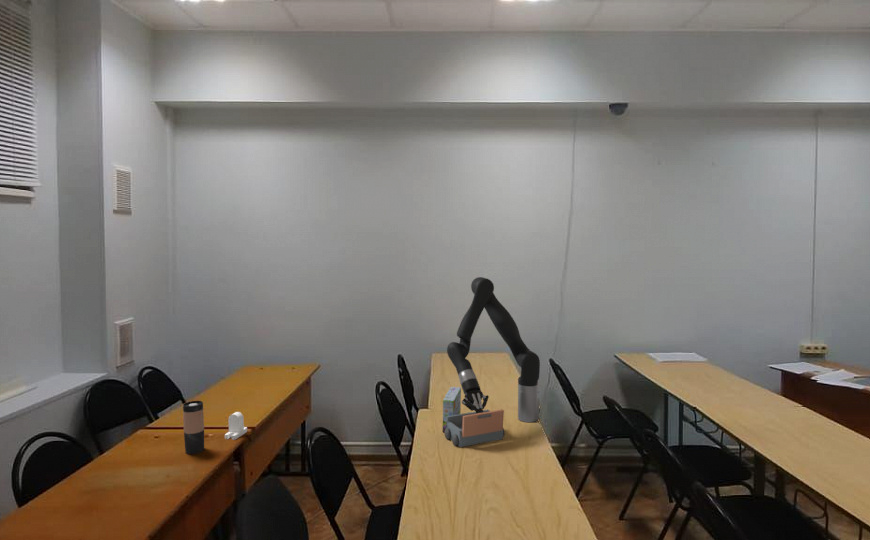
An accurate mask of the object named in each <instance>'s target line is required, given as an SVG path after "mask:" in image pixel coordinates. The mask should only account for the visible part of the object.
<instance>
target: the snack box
mask: <svg viewBox="0 0 870 540" xmlns="http://www.w3.org/2000/svg"><path fill="white" fill-rule="evenodd" d="M461 396H462V387H460V386H459V387H456V386H450V388H449V389H448V391H447V393H446V394H445V396H444V398H443V399H442V433H444V431H445V429H446V416H452V415H458V414H462V413H461V407H462V406H461V404H462V400H461V399H462V398H461Z"/></svg>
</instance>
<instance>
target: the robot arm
mask: <svg viewBox="0 0 870 540" xmlns="http://www.w3.org/2000/svg"><path fill="white" fill-rule="evenodd" d="M470 288H471V291H472V293H473V299H472V300H471V301H472V302H471V305H469V307H468V309H467V311H466V313H465V314H464V316H463V318H462V319H461V320H460V324H459V326H458V328H457V331H456V336H457V337H458V338H459V342H455V341H452V342H449V344H448V345H447V346H446V347H447V348H446V353H447V355H448V358H449V360H450V362H451V363H452V365H453V366H454V367H455V370H456V373H457V375H458V379H459V383H460V385H461V390H462V391H463V394H464V398H463V399H462V400H461V404H462V405H464V406H465V407H466V408H467V409H468V410H470V411H471V412H472V411H473V412H476V414H477V413H483V410H485V407H486V406H487V403H488V400H489V397H490V396H489V395H487V394H486V395H485V394H484V393H483V391H482V390H481V386H480V384H479V381H478V378H477V375H476V374H475V372H474V371H475V370H474V369H473V366H472V364H471V362H470V361H469V359H467V357H468V355H469V353H470V348H471V343H472V342H471V341H472V336H473V334H474V331H475V330H476V326H477V323H478V321H479V319H480V317H481V314H482V313H483V311H484V309H485V311H486V313H487V315H488V317H489V319H490V321H491V323H492V324H493V326H494V327H495V329H496V331H497V332H498V334H499V335H500V336H501V338H502V339H503V341H504V342H505V344H506V345H507V346H508V348H509V350H510V351H511V354H512V357H513V358H514V360H515V361H516V363H517V365H518V367H520V370H521V371H520V376H519V377H518V378H517V419H518V420H519V421H521V422H524V423H534V422H537V421H538V420H540V399H538V393H539V392H538V389H539V388H538V385H539V384H538V383H539V379H540V368H541V367H540V366H541V364H540V363H541V362H540V361H541V360H540V357H539V355H538V354H537V353H535V352H534V351H532V350H530V348H529V347H528V346H527V345H526V343H525V342H524V341H523V340H522V337H521V333H520V331H519V327H518V325H517V323H516V321H515V320H514V318H513V316H512V315H511V314H510V312H509V311H508V310H507V308H505V306H504V305H503V304H502V303H501V302H500V301H499V300H498V298H497V297H496V295H495V293H494V291H495V290H494V289H495V286H494V283H493V281H492V280H490V279H489V278H486V277H483V276H481V277H476V278H474V279H473V280H472V281H471V284H470ZM482 401H483V402H482Z"/></svg>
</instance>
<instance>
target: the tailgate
mask: <svg viewBox="0 0 870 540" xmlns="http://www.w3.org/2000/svg"><path fill="white" fill-rule="evenodd" d="M504 413H505V410H504V409H501V408H500V409H497V410H489V412H483V413H477V414H471V415H465V416H463V425H462V437H469V436H474V435H480V434H485V433H490V432H496V431H501V430H503V428H504V417H505V416H504Z"/></svg>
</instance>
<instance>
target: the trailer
mask: <svg viewBox="0 0 870 540" xmlns="http://www.w3.org/2000/svg"><path fill="white" fill-rule="evenodd" d="M489 411H490V410H489V409H483V412H489ZM471 414H476V411H473V412H472V411H471V412H465V413H461V414H458V415H452V416H446V429H445V431H444V432H443V433H444V437H445V439H446V440H452V441H451V442H452V444H453V446H455V447H456V446H458V447H459V448H463V447H468V446H473V445H479V444H478V443H480V444H484V443H483V442H485V443H489V441H490V442H495V441H500V440H504V437H505V433H506V432H505V429H504V427H503V430H501V431H496V432H490V433H485V434H480V435H474V436H469V437H462V425H463V416H465V415H471ZM494 440H495V441H494Z"/></svg>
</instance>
